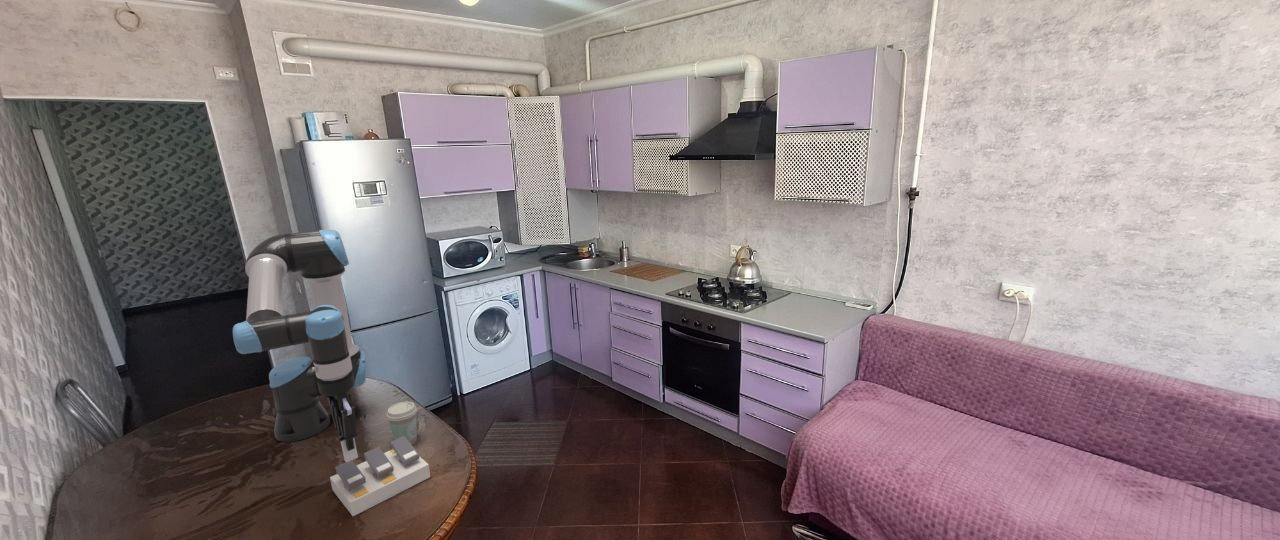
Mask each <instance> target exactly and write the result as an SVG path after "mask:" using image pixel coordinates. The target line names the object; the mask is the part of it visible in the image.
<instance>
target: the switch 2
mask: <svg viewBox="0 0 1280 540" xmlns="http://www.w3.org/2000/svg"><path fill="white" fill-rule="evenodd" d="M384 453H385V452H384V451H383V450H382V448H381V447H380V446H377V447H374V448H373V449H370V450H368V451H366V452H364V453H363V458H364V460H365V461H367V463H368V464H369V466H370V467H371V469H372V470H373V472H374V473H375V474H376V476H377V477H378V478H380V477H383V476H385V475H387V474H389V473H391V472H393V471H394V467H393V465H392V464H391V462H390V461H389V460H388V458H387V457H386V455H385V454H384Z"/></svg>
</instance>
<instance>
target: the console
mask: <svg viewBox="0 0 1280 540" xmlns="http://www.w3.org/2000/svg"><path fill="white" fill-rule="evenodd" d="M383 453H384V454H385V455H386V457H387V458H388V460H389V461H390V462H391V464H392V465H393V467H394V471H393V472H391V473H389V474H387V475H385V476H383V477H380V478H378V477H377V476H376V474H375V473H374V472H373V470H372V469H371V467H370V466H369V464H368V463H367V461H366V460H365V461H363V462H361V463H359V464H357V465H356V464H355V465H356V466H357V467H358V469H359V470H360V471H361V473H362V474H363V475H364V477H365V479H366V483H364V484H362V485H360V486H358V487H356V488H354V489H352V490H348V488H347V487H346V485H345V484H344V482H343V481H342V480H341V478H340V477H339V475H338V474H337V473H336V474H334V475H331V476H330V477H329V480H330V484H331V489H332V492H333V493H334V494H335V496H337V498H338V499H339V501H340V502H341V503H342V505H344V507H345V508H346V509H347V511H348V512H349V513H350V514H351V516H352V517H354V516H355V517H356V516H357V515H359V514H360V513H363V512H364V511H366V510H368V509H370V508H373V507H374V506H377V505H379V504H381V503H383V502H384V501H386V500H388V499H390V498H392V497H395V496H396V495H398V494H400V493H402V492H404V491H406V490H407V489H410V488H412V487H414V486H416V485H417V484H419V483H421V482H424V481H425V480H427V479H429V478H431V473H430V472H431V471H430V465H429V463H428V462H427V461H426V460H424V459H423V458H422V457H421V456H420V455H419V459H418V460H416V461H414V462H412V463H410V464H408V465H406V466H405V465H404V464H403V462H402V461H401V460H400V458H399V457H398V456H397V454H396V453H395V452H394V450H393V449H392V448H391V449H390V450H387V451H385V452H383Z"/></svg>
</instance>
